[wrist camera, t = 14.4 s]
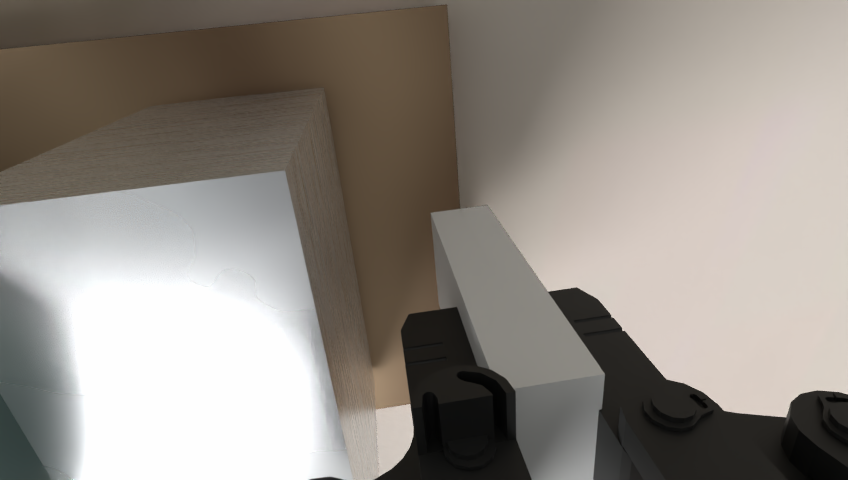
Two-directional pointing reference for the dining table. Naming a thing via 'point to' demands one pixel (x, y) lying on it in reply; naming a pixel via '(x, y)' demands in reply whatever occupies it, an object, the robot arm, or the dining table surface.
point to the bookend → (188, 299)
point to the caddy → (274, 72)
